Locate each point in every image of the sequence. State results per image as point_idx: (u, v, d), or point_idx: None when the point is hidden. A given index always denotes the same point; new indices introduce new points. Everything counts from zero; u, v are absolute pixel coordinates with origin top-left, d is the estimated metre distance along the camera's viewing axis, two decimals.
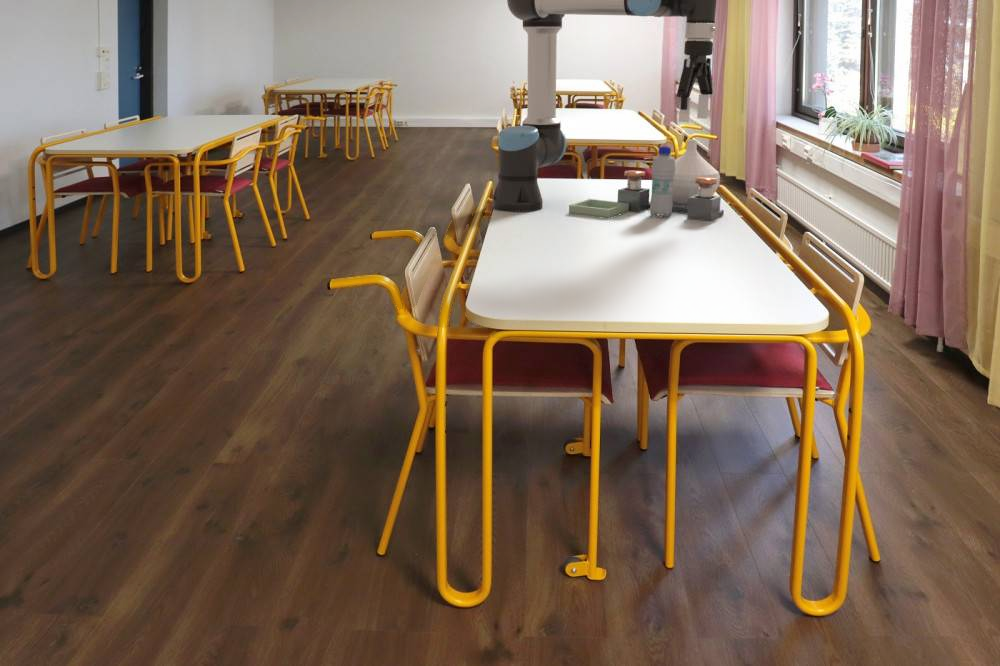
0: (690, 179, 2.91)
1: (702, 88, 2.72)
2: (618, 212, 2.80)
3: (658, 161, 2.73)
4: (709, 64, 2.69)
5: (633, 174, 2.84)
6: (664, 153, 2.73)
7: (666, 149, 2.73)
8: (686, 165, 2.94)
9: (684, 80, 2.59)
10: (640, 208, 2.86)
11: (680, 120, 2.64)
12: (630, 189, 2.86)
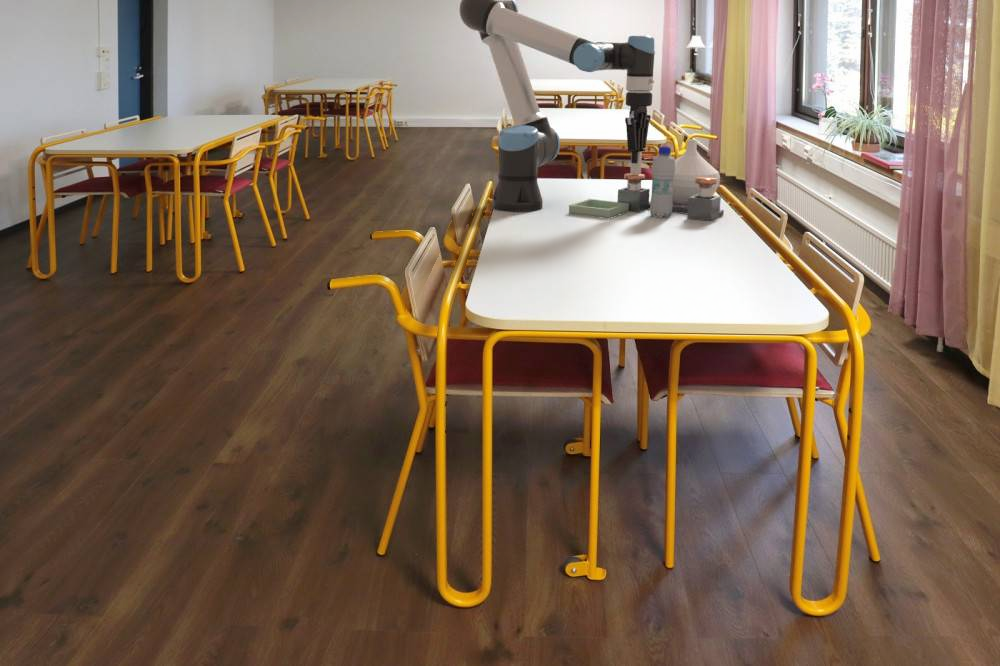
0: (690, 179, 2.91)
1: None
2: (618, 212, 2.80)
3: (658, 162, 2.73)
4: (648, 120, 2.85)
5: (633, 177, 2.84)
6: (664, 153, 2.73)
7: (666, 149, 2.73)
8: (686, 165, 2.94)
9: (630, 138, 2.79)
10: (640, 208, 2.86)
11: (631, 172, 2.86)
12: None
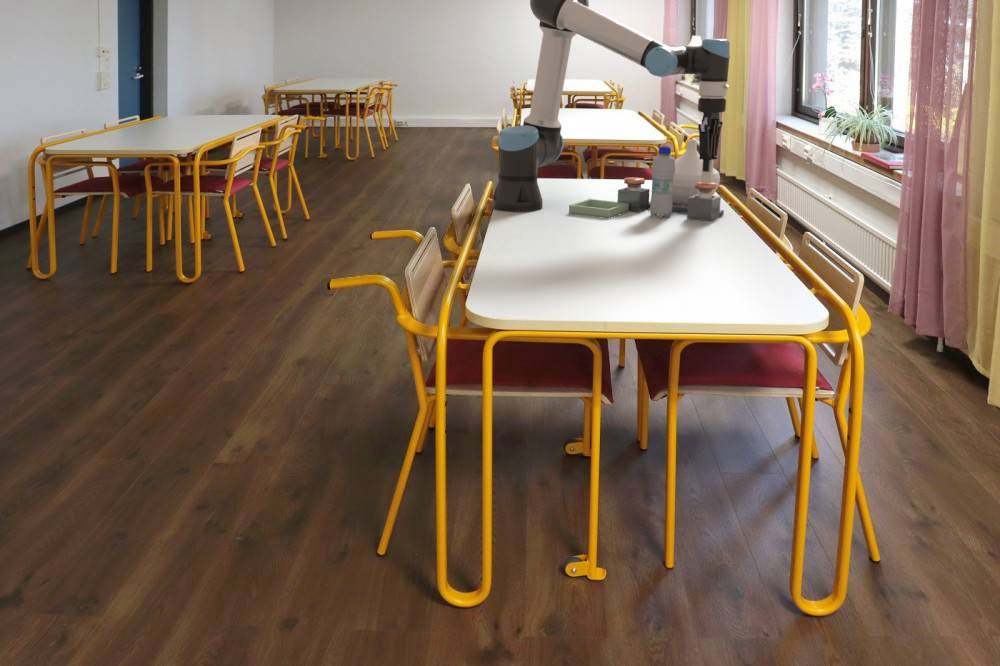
0: (690, 179, 2.91)
1: None
2: (618, 212, 2.80)
3: (658, 162, 2.73)
4: (720, 126, 2.74)
5: (633, 181, 2.84)
6: (664, 153, 2.73)
7: (666, 149, 2.73)
8: (686, 165, 2.94)
9: (703, 145, 2.69)
10: (640, 208, 2.86)
11: (702, 181, 2.75)
12: None
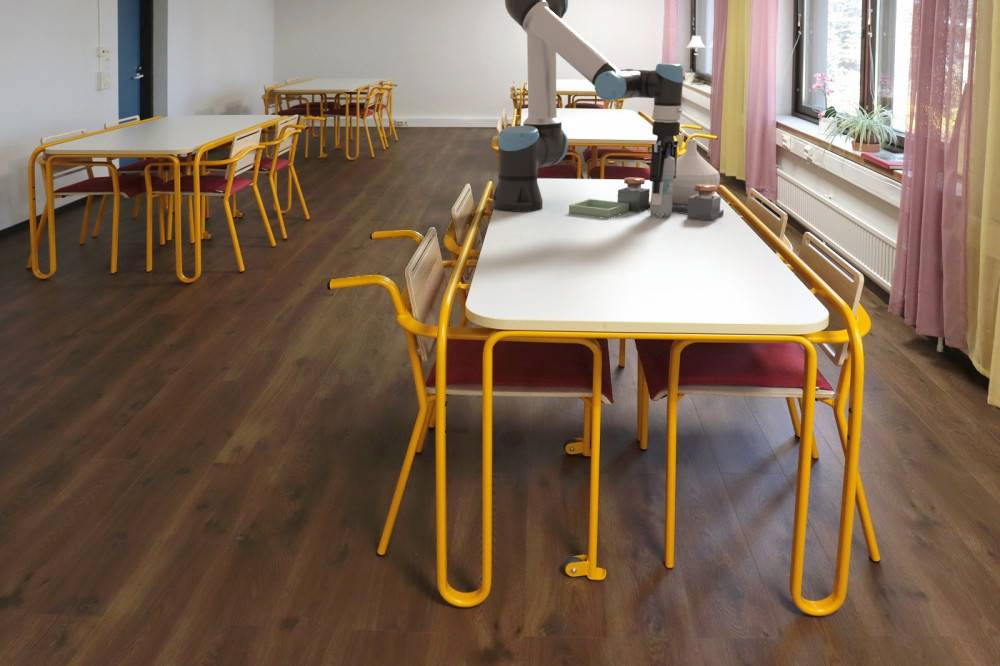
0: (690, 179, 2.91)
1: None
2: (618, 212, 2.80)
3: None
4: (676, 146, 2.78)
5: (633, 181, 2.84)
6: None
7: None
8: (686, 165, 2.94)
9: (654, 166, 2.70)
10: (640, 208, 2.86)
11: (653, 203, 2.76)
12: None
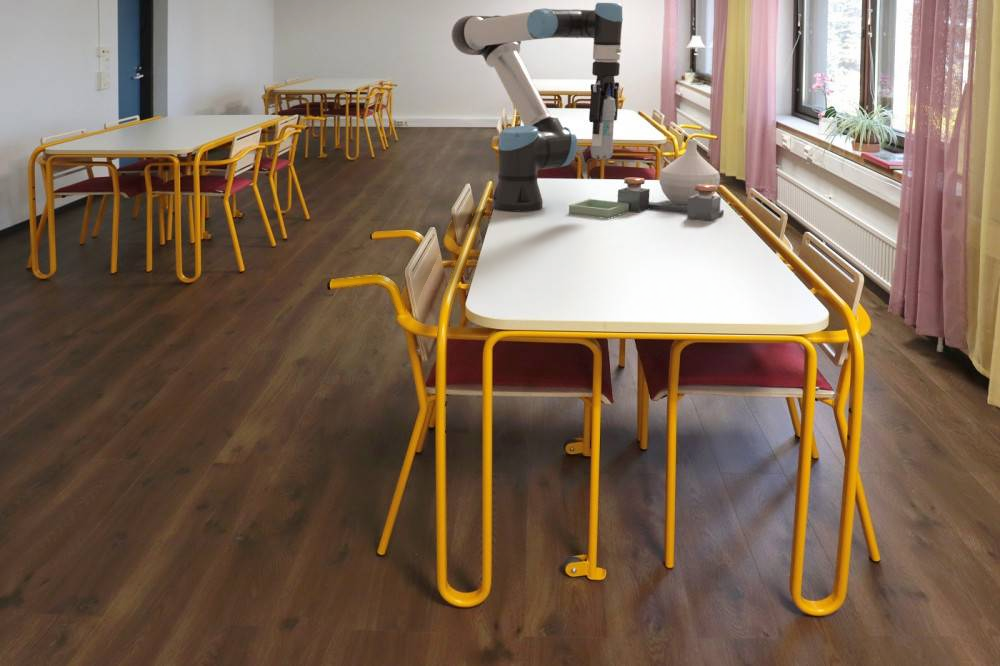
0: (690, 179, 2.91)
1: None
2: (618, 212, 2.80)
3: None
4: (617, 88, 2.78)
5: (633, 181, 2.84)
6: None
7: None
8: (686, 165, 2.94)
9: (593, 106, 2.70)
10: (640, 208, 2.86)
11: (593, 144, 2.76)
12: None
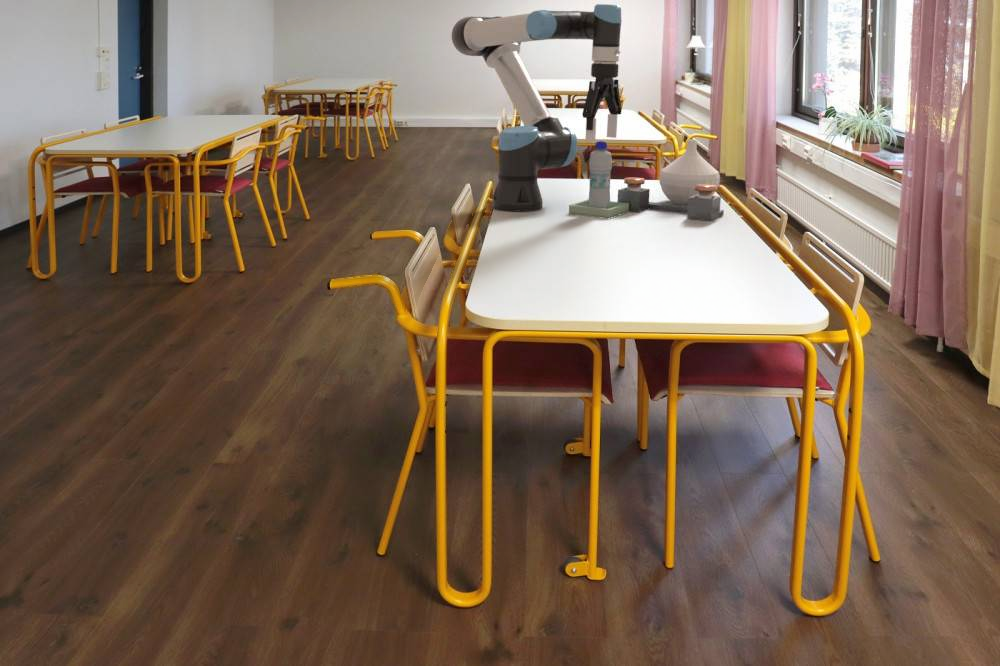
0: (690, 179, 2.91)
1: (611, 108, 2.81)
2: (618, 212, 2.80)
3: (595, 157, 2.77)
4: (617, 85, 2.78)
5: (633, 181, 2.84)
6: (600, 148, 2.77)
7: (602, 144, 2.77)
8: (686, 165, 2.94)
9: (589, 102, 2.68)
10: (640, 208, 2.86)
11: (586, 140, 2.73)
12: None
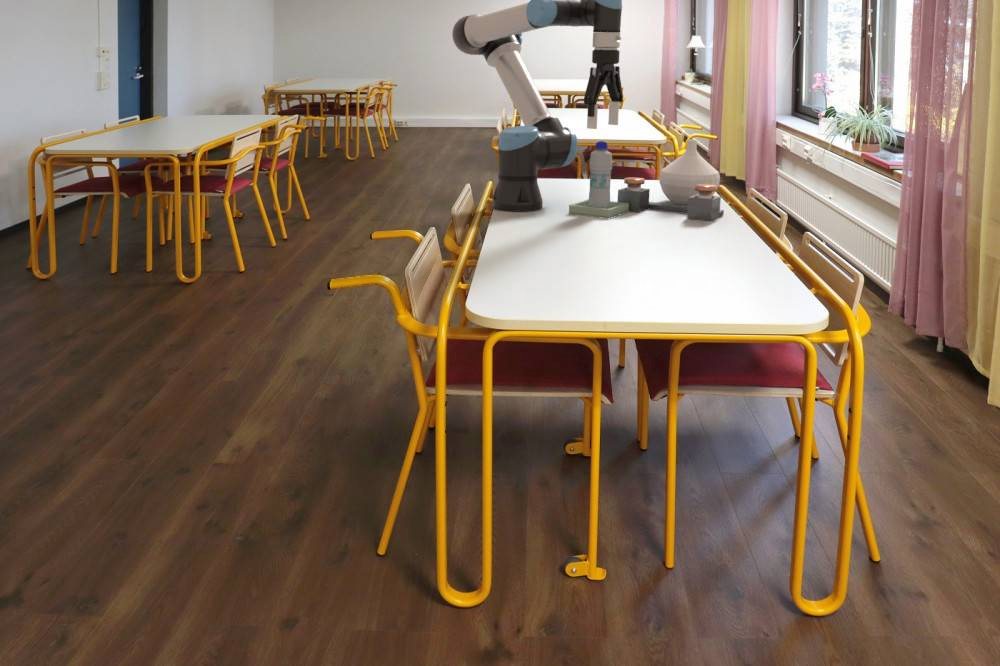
0: (690, 179, 2.91)
1: (612, 95, 2.79)
2: (618, 212, 2.80)
3: (595, 156, 2.77)
4: (618, 72, 2.77)
5: (633, 181, 2.84)
6: (601, 148, 2.77)
7: (603, 144, 2.77)
8: (686, 165, 2.94)
9: (590, 88, 2.66)
10: (640, 208, 2.86)
11: (588, 127, 2.71)
12: None
